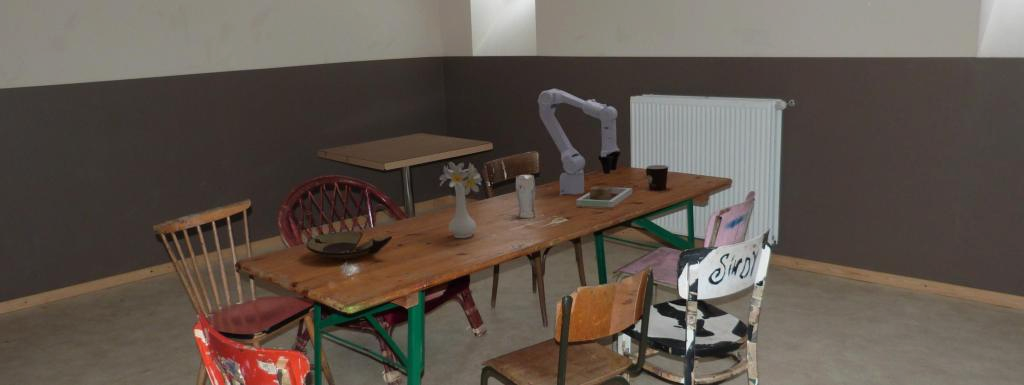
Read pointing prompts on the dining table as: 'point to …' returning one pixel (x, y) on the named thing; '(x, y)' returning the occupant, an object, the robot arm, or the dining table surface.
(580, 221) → the dining table surface
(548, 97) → the robot arm
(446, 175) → the flower vase
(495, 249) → the dining table surface
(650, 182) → the coffee mug
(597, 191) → the cardboard box
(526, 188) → the beer glass
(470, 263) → the dining table surface
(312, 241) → the oil lamp
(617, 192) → the bay
